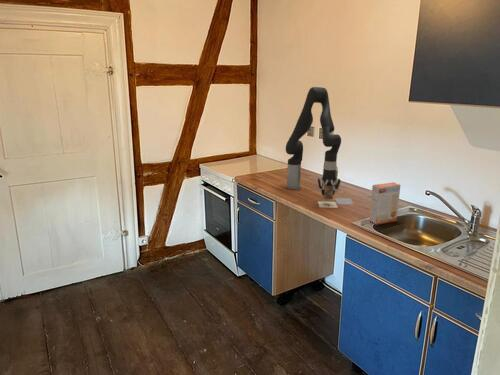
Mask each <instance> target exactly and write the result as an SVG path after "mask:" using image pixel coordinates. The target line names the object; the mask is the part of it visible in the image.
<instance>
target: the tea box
mask: <svg viewBox="0 0 500 375" xmlns="http://www.w3.org/2000/svg"><path fill="white" fill-rule="evenodd" d="M338 168H339V167H338V166H337V167H336V178H337V179H338V177H339V176H338V173H339V169H338ZM323 183H324V182H323V180H321V186H323ZM336 184H337V182H336V181H335V182H334V187H335V186H336ZM335 192H337V189H335Z"/></svg>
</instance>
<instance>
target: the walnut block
mask: <svg viewBox="0 0 500 375" xmlns="http://www.w3.org/2000/svg"><path fill="white" fill-rule="evenodd" d="M333 189H334V186H332V185H325V188H324V195H322V196H323V199H324V200H333V199H334V195H333Z"/></svg>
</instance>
